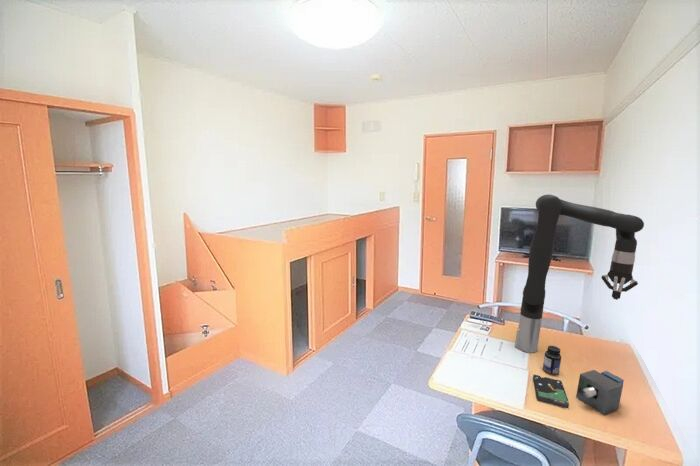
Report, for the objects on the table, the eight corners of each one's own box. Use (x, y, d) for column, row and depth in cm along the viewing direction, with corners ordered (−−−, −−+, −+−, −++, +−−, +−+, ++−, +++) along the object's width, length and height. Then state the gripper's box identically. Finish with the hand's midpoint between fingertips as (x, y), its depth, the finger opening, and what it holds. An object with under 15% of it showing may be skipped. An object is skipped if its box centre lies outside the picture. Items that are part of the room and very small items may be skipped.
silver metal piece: (602, 391, 128) (606, 370, 126) (619, 401, 122) (623, 380, 121) (576, 400, 123) (579, 378, 121) (592, 410, 117) (596, 388, 115)
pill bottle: (557, 369, 143) (561, 346, 141) (559, 377, 138) (563, 353, 136) (541, 365, 146) (545, 343, 144) (543, 373, 140) (546, 349, 138)
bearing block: (590, 392, 129) (594, 369, 127) (618, 410, 119) (623, 385, 117) (576, 397, 126) (580, 373, 124) (603, 415, 117) (608, 390, 115)
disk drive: (531, 380, 137) (536, 402, 123) (532, 374, 136) (537, 395, 123) (560, 386, 133) (569, 410, 119) (561, 380, 132) (570, 403, 119)
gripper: (603, 259, 142) (596, 297, 145) (643, 265, 134) (635, 305, 137) (603, 256, 148) (597, 292, 151) (642, 262, 140) (634, 300, 143)
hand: (615, 298), depth 144 cm, fingers closed
